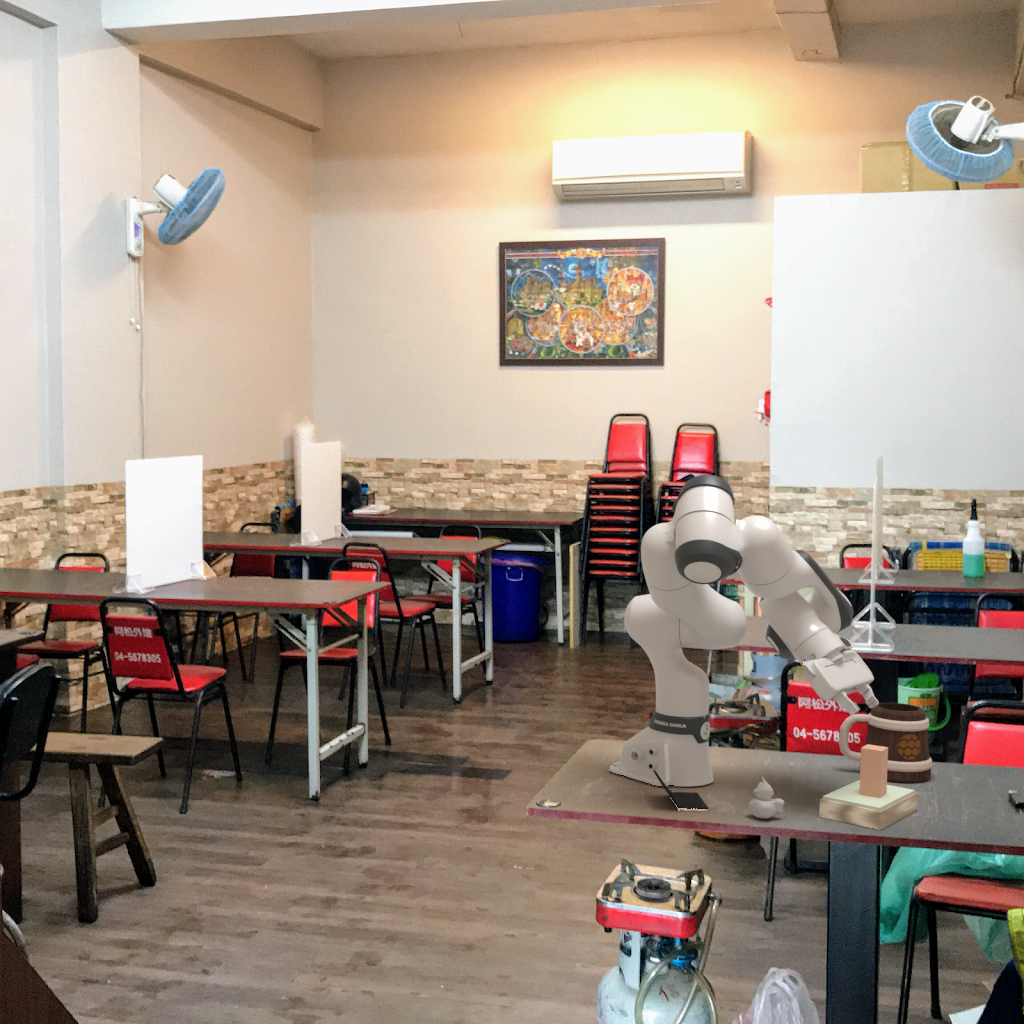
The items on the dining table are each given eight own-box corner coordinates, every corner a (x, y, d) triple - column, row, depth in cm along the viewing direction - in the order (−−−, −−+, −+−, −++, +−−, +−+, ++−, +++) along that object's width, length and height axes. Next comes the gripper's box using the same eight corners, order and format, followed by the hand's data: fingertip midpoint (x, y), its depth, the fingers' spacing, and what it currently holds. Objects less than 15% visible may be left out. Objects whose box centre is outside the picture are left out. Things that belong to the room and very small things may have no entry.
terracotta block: (859, 794, 229) (861, 747, 229) (865, 790, 233) (867, 744, 232) (880, 798, 227) (881, 751, 227) (886, 793, 230) (888, 747, 230)
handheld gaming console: (718, 803, 230) (687, 762, 229) (691, 827, 228) (659, 786, 228) (697, 795, 241) (668, 756, 241) (671, 818, 239) (641, 779, 239)
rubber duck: (748, 812, 229) (749, 771, 229) (783, 815, 228) (785, 774, 228) (748, 820, 224) (749, 778, 224) (784, 823, 223) (785, 781, 222)
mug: (925, 769, 268) (928, 702, 267) (938, 786, 253) (941, 716, 252) (833, 763, 271) (836, 697, 270) (841, 780, 256) (844, 710, 255)
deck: (819, 816, 228) (820, 796, 227) (858, 798, 241) (859, 778, 241) (880, 830, 220) (880, 808, 220) (916, 810, 234) (917, 790, 234)
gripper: (809, 648, 228) (856, 707, 223) (852, 638, 244) (896, 693, 239) (786, 668, 231) (832, 726, 226) (830, 657, 247) (874, 711, 242)
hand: (865, 709), depth 232 cm, fingers open, 8 cm apart
